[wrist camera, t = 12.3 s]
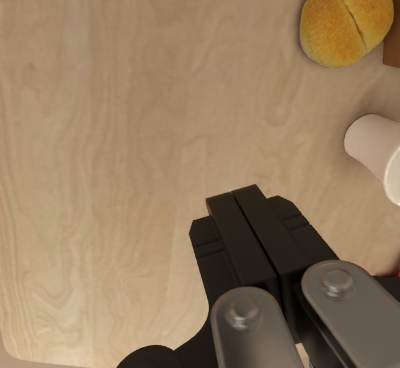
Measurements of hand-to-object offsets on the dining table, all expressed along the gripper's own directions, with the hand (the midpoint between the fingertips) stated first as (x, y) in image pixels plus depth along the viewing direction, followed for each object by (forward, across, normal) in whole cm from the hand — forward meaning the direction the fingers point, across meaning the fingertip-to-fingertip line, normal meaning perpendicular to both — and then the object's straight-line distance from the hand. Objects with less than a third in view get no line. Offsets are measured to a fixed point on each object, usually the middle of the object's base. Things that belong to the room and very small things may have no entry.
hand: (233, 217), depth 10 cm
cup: (+27, -22, +14) cm, 38 cm away
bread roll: (+27, -19, 0) cm, 33 cm away
